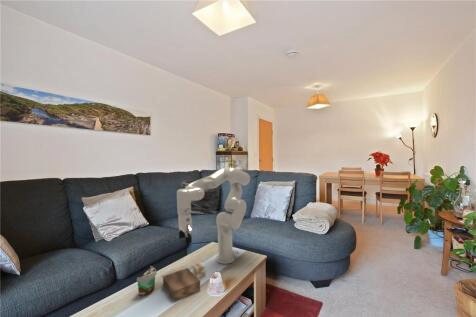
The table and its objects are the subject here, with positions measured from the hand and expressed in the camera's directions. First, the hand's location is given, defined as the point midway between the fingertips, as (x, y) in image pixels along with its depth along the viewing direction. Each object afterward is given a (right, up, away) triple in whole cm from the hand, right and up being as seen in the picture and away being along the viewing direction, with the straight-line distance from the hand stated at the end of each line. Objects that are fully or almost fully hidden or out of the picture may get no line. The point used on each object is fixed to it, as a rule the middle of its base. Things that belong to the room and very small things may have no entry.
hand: (185, 240), depth 129 cm
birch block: (+7, -22, +3) cm, 23 cm away
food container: (-16, -23, -11) cm, 30 cm away
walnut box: (0, -22, -9) cm, 24 cm away
